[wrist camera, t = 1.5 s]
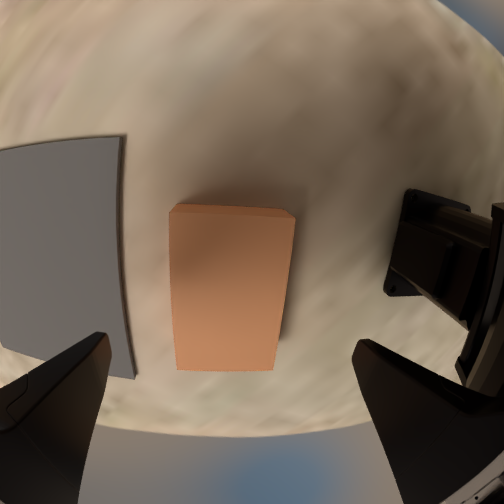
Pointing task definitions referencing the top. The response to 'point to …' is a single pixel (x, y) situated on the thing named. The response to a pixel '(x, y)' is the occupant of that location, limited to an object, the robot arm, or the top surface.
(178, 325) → the tile
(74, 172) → the mat
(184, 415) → the top surface
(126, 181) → the top surface
